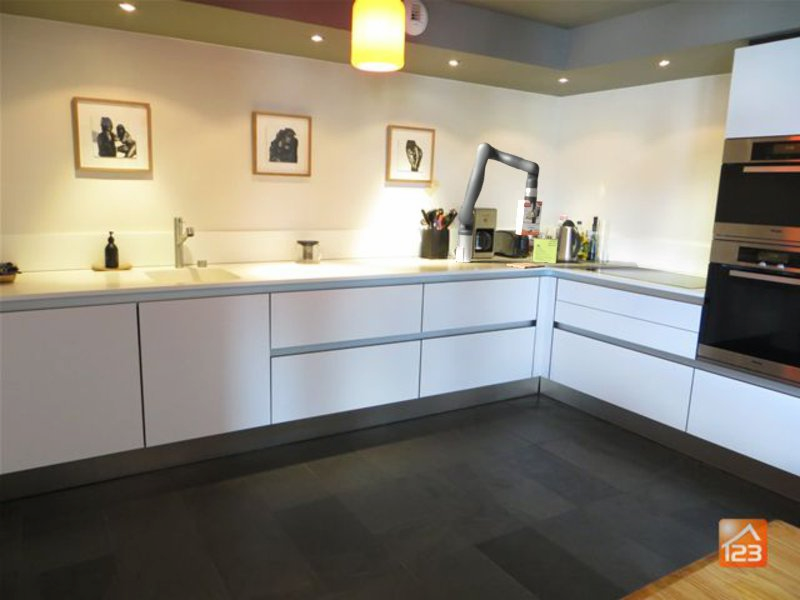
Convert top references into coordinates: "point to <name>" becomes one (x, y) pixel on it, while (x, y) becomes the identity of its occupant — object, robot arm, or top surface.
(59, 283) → the top surface
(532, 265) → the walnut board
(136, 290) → the top surface
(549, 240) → the protein box
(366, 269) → the top surface
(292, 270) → the top surface
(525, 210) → the cracker box
